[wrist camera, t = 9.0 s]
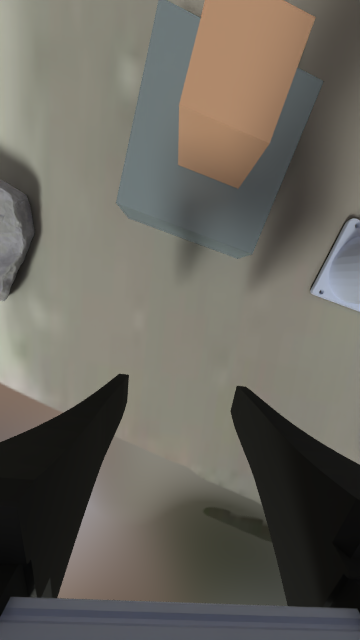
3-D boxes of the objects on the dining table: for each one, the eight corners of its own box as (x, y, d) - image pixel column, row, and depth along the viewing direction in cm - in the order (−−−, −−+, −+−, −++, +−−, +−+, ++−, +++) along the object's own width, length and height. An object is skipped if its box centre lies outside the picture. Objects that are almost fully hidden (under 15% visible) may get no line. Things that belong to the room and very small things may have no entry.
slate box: (286, 130, 15) (323, 81, 12) (236, 259, 18) (252, 254, 14) (164, 72, 14) (159, -4, 10) (129, 219, 17) (116, 202, 13)
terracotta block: (264, 112, 12) (315, 17, 8) (238, 188, 13) (269, 143, 9) (199, 83, 12) (214, -37, 7) (178, 164, 13) (179, 104, 8)
